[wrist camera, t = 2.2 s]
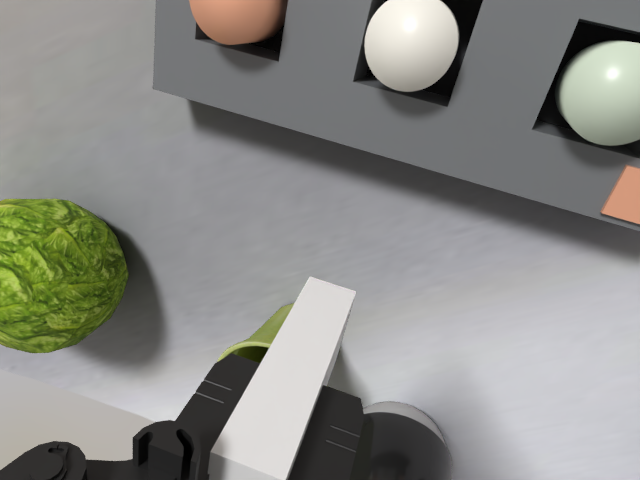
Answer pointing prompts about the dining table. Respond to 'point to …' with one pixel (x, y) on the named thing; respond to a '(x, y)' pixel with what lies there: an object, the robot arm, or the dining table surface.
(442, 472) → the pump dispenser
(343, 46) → the button console
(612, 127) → the sage button
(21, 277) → the lettuce
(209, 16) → the peach rounded knob
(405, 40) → the cream button
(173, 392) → the dining table surface
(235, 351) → the plant pot
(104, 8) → the dining table surface
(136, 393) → the dining table surface
